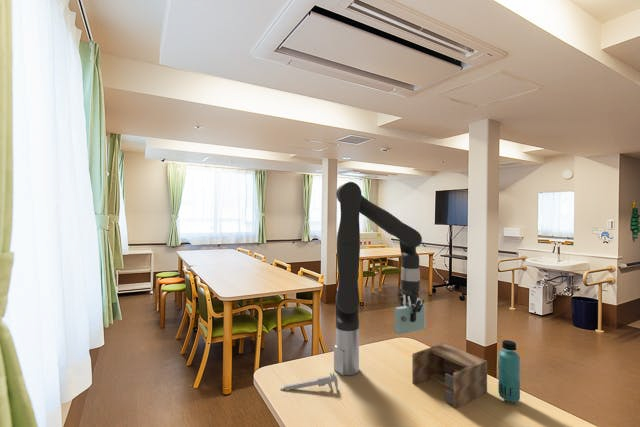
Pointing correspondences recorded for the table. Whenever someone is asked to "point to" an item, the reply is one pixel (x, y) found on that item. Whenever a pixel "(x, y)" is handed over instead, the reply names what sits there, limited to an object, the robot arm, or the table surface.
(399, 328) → the door
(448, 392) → the cabinet
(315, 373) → the table surface
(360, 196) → the robot arm
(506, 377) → the beverage bottle
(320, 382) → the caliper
